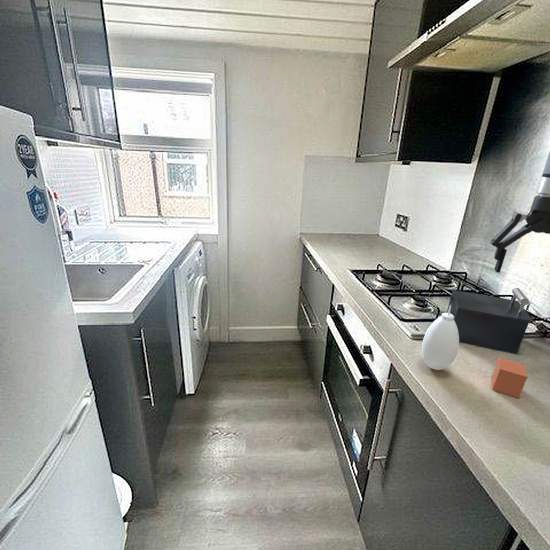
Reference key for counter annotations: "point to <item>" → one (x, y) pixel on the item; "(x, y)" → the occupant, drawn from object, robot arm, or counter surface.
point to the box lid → (494, 305)
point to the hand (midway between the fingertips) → (526, 275)
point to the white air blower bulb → (441, 342)
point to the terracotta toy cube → (508, 377)
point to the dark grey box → (488, 330)
